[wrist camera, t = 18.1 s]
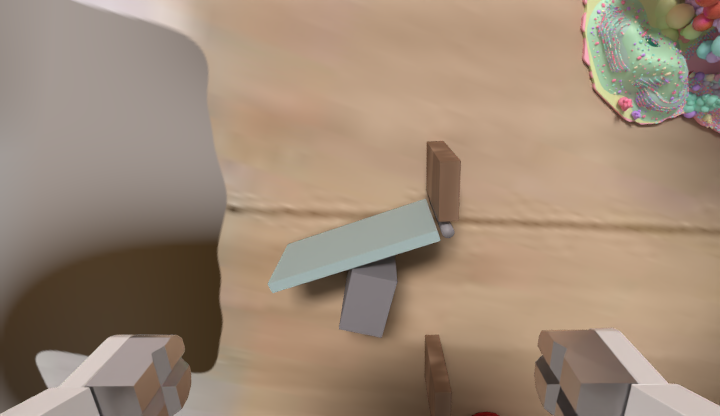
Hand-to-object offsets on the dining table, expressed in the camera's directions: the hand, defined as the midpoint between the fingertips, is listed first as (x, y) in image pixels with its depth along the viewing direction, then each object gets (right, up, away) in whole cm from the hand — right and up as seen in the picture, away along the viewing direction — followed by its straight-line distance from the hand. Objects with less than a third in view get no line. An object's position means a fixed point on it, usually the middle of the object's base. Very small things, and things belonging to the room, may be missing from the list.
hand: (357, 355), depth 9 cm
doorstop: (+1, -2, +34) cm, 34 cm away
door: (0, +2, +32) cm, 32 cm away
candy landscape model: (+32, +21, +25) cm, 45 cm away
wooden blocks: (+8, -3, +34) cm, 35 cm away
